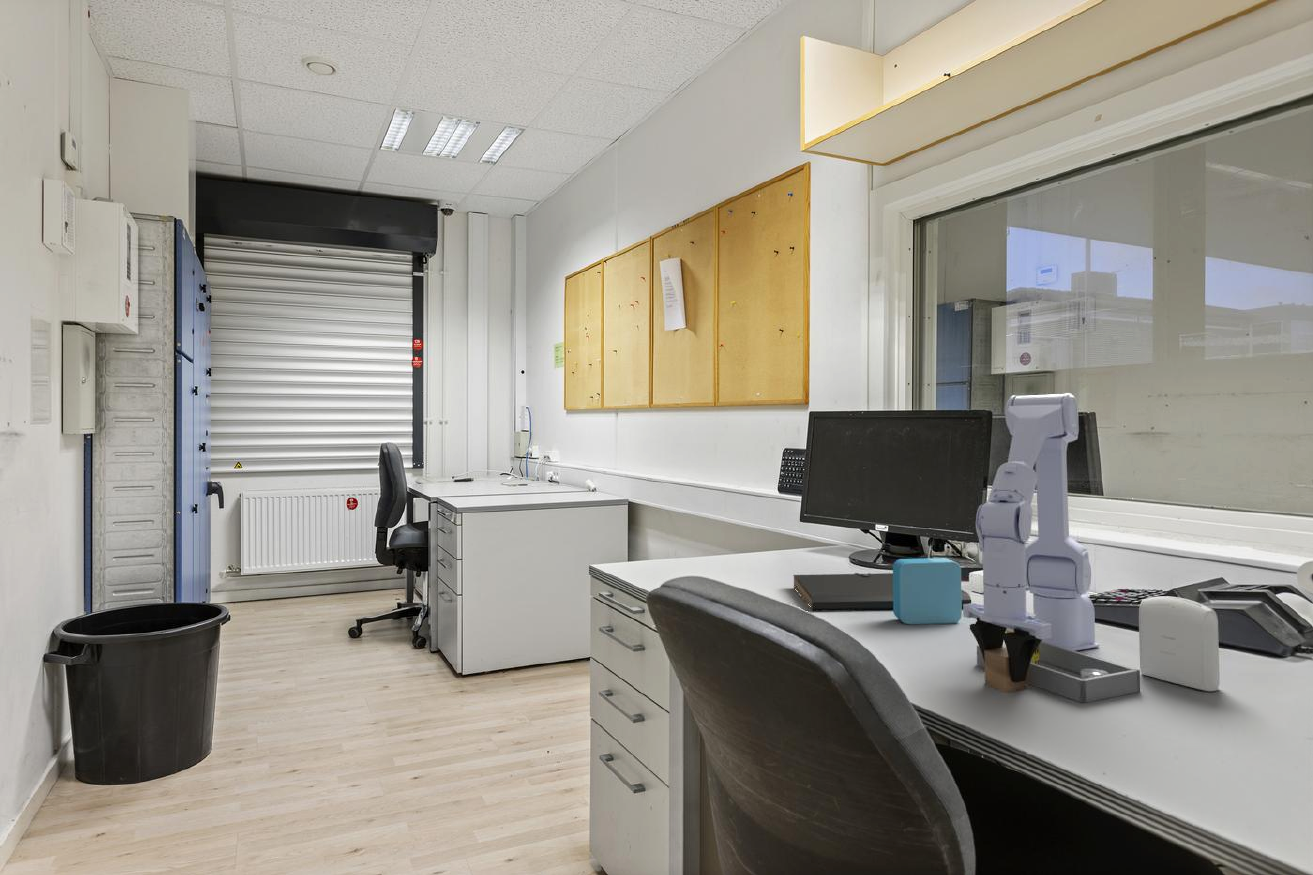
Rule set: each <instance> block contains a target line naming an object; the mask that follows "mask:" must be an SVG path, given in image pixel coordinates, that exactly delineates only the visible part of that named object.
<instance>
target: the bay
mask: <svg viewBox="0 0 1313 875" xmlns="http://www.w3.org/2000/svg"><path fill="white" fill-rule="evenodd" d="M1040 661H1041V662H1045V663H1046V664H1049V665H1053V666H1056V667H1060V668H1062V669H1064V670H1068V671H1071V672H1075V673H1077V674H1080V675H1081V670H1082V669H1098V670H1103V671H1106V672H1108V673H1109V674H1108V675H1102V676H1097V677H1092V678H1087V679H1081V678H1079V677H1076V676H1072V675H1070V674H1067V673H1064V672H1062V671H1058V670H1055V669H1052V668H1048V667H1046V666H1043V665H1040V664H1039V665H1037V664H1034V663H1031V662H1030V665H1029V668H1028V672H1027V684H1030V685H1032V686H1035V687H1038V688H1041V689H1043V690H1046V691H1049V692H1052V693H1054V694H1057V695H1060V696H1062V697H1066V698H1068V699H1071V700H1074V701H1076V702H1079V703H1083V704H1085V703H1090V702H1094V701H1099V700H1104V699H1109V698H1115V697H1120V696H1124V695H1130V694H1134V693H1138V692H1139V693H1140V692H1141V670H1139V669H1137V668H1133V667H1131V666H1126V665H1122V664H1120V663H1116V662H1113V661H1109V660H1106V659H1102V658H1099V657H1097V656H1092V655H1088V654H1086V653H1083V652H1079V651H1077V650H1076V651H1073V650H1069V649H1066V648H1063V647H1059V646H1056V645H1053V644H1049V643H1046V642H1042V641H1041V642H1040V644H1039V662H1040ZM976 664H977V665H978V666H980V667H983V668H985V663H984V659H983V656H982V653H981V650H980V647H979V645H977V646H976Z"/></svg>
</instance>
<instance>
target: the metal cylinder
mask: <svg viewBox="0 0 1313 875" xmlns="http://www.w3.org/2000/svg"><path fill="white" fill-rule="evenodd" d="M1108 674H1109V673H1108V672H1106V671H1103V670H1098V669H1082V670H1081V674H1080V679H1087V678H1092V677H1097V676H1102V675H1108Z"/></svg>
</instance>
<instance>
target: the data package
mask: <svg viewBox="0 0 1313 875" xmlns="http://www.w3.org/2000/svg"><path fill="white" fill-rule="evenodd" d="M892 573H893V610H892V611H893V615H894V616H895V618H897V619H898V620H899V621H901V622H903V623H904V624H905V625H933V624H934V625H935V624H936V625H937V624H943V625H944V624H956V623H958V622H960V620H961V619H962V615H963V609H962V597H961V590H962V567H961V565H960V564H959V563H958V562H956V561H955V560H954V561H953V560H951V559H949V558H946V557H939V558H938V557H933V558H927V557H926V558H899V559H897V560H895V561H894V562H893V565H892Z"/></svg>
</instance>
